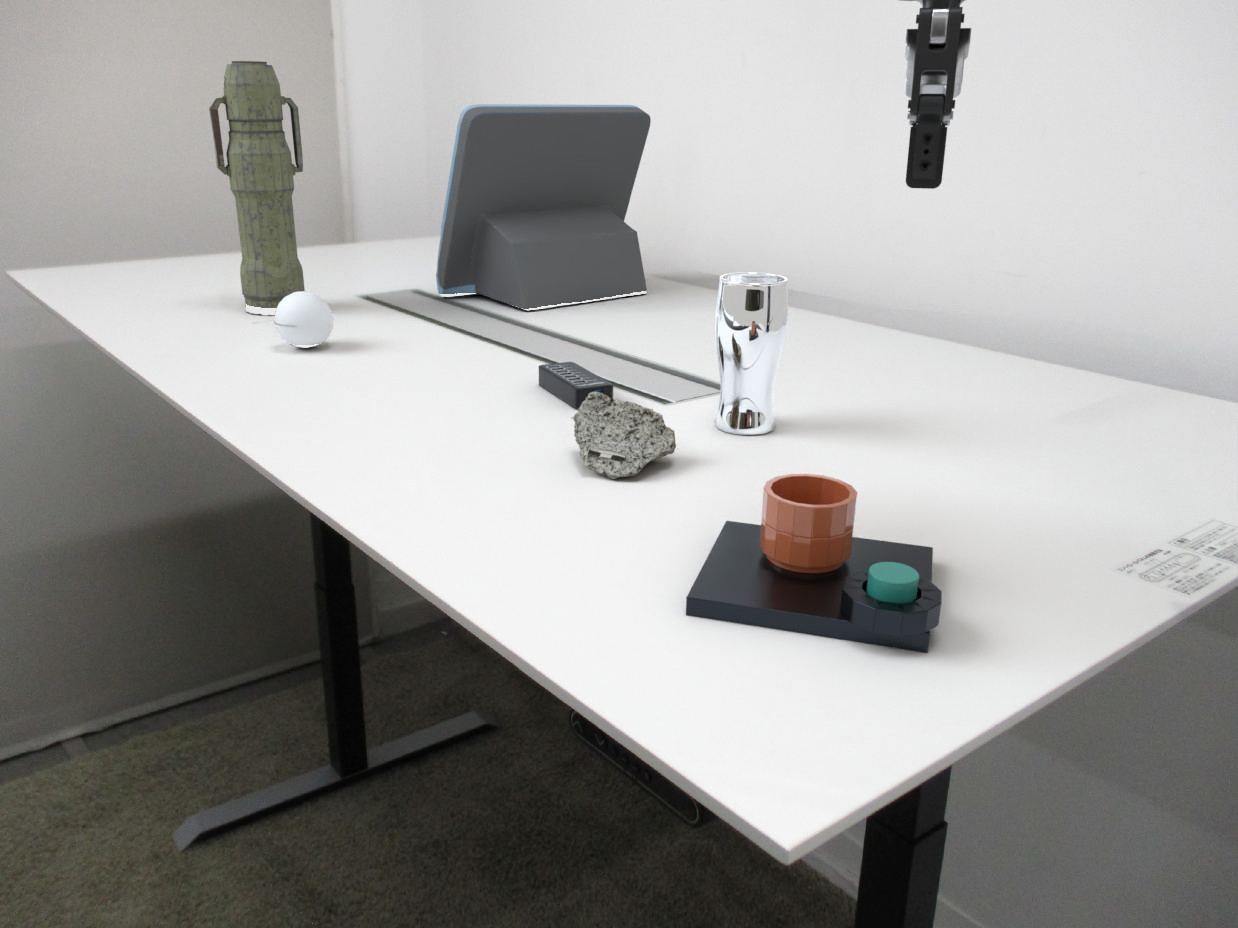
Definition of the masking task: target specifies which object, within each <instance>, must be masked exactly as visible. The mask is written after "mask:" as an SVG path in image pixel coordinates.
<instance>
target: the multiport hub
mask: <svg viewBox="0 0 1238 928" xmlns="http://www.w3.org/2000/svg"><path fill="white" fill-rule="evenodd" d="M538 386H539V387H541V388H543V389H544V390H546V391H547V392H549V393H550V394H551V395H553V396H554V397H556V398H557V399H558V400H561V401H562V402H563V403H565V404H567V405H569V406H570V407H571V408H573V409H574V410H577V409H578V408H579V407H581V405H582V402H583V401H585V400H586V399H585V398H586V397H588V394H589V393H591V392H600V393H602V394H605V395H608V397H609V398H611V399H613V400H614V384H613V383H611V382H610V381H608V380H606V379H604V378H603V377H600V376H599V375H597V374H595V373H594V372H592V371H590V370H588V369H586V368H585V367H583V366H581V365H580V364H578V363H576V362H573V361H565V362H564V361H563V362H556V363H546V364H540V365H538ZM612 393H613V394H612ZM611 396H612V397H611Z"/></svg>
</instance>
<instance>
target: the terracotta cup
mask: <svg viewBox="0 0 1238 928" xmlns="http://www.w3.org/2000/svg"><path fill="white" fill-rule="evenodd" d="M762 491H763V492H762V506H761V507H762V508H761V521H760V523H761V524H760V525H761V536H760V547H761V549H762V550H763V552H764V553H765V554H766V556H767V558H768V560H769V561H770V562H772V563H773V564H775V565H776V566H778V567H781V568H783V569H786V570H790V571H794V572H800V573H825V572H830V571H833V570H836V569H838V568H839V567H841V566H842V565H843V563H844V561H846V560H847V559H849V558H850V556H851V551H852V542H853V537H854V533H855V522H856V512H857V503H858V502H857V501H858V491H857V490H856V489H855V487H854V486H853V485H852V484H849V483H847V482H845V481H843V480H842V479H839V478H835V477H831V476H827V475H821V474H815V473H788V474H783V475H778V476H775V477H773V478H771V479H769V480H767V481H766V482H765V484H764V486H763V490H762Z"/></svg>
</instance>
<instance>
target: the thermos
mask: <svg viewBox="0 0 1238 928" xmlns="http://www.w3.org/2000/svg"><path fill="white" fill-rule="evenodd" d="M274 69H275V68H274V67H273V65H272V64H268V62H267V61H252V60H231V63H229V64H228V63H227V64H226V65H225V71H224V76H223V79H224V81H223V82H224V83H223V89H222V90H223V95H222V97H216V98H214V100H213V102H212V103H211V105H210V106H209V107H208V112H209V117H210V123H211V124H210V125H211V130H212V136H213V137H212V138H213V145H214V153H215V162H216V163H215V164H216V168H217V170H219V171H220V172H221V173H222V174H224V175H225V176H227V177H228V179H229V187H230V191H231V193H232V194H233V196H234V202H235V207H236V208H235V209H236V217H237V225H238V234H239V243H240V252H241V263H240V267H239V269H240V270H239V276H240V285H241V294H242V295H243V297H244V304H245V303H246V304H247V305H249V306H254V307H261V308H277V306H278V304H279V303H280V302H281V301H282V299H283V298H284V297H286V296H288V295H290V294H291V293H293V292H299V291H306V290H305V279H304V270H303V265H302V264H301V262H300V259H299V256H298V246H297V235H296V225H295V215H294V214H295V213H294V206H293V205H294V204H293V194H294V191H295V181H294V176H296V173H302V172H303V171H304V159H303V157H304V156H303V147H302V136H301V125H300V115H299V114H300V113H299V107H298V106H297V104H296V103H295V102H294V100H293V99H292V98H291V97H285V96H284V95H282V93H281V92H282V91H281V85H280V82H279V79H278V76H277V74H276V71H275V70H274ZM221 104H223V105H224V106H225V113H226V120H227V121H228V127H229V130H228V132H227V133H228V143H227V149H226V154H225V155H226V161H227V165H226V164H225V156H224V149H223V141H222V133H221V125H220V124H221V123H220V115H219V108H220V105H221ZM286 104H287V105H288V107H289V112H290V121H291V133H292V141H293V152H294V163H295V164H294V163H293V161H292V160H293V159H292V151H291V149H290V147H289V145H288V142H287V140H286V134H285V133H286V132H285V130H283V129H284V128H283V121H284V113H283V112H284V111H283V106H284V105H286Z"/></svg>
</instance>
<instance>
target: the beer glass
mask: <svg viewBox="0 0 1238 928" xmlns="http://www.w3.org/2000/svg"><path fill="white" fill-rule="evenodd" d="M788 282H789V280H788V277H786V276H784V275H779V274H775V273H767V272H754V271H753V272H752V271H751V272H750V271H749V272H747V271H746V272H745V271H742V272H740V271H739V272H729V273H724V274H722V275H719V283H718V291H717V298H716V305H715V306H716V308H715V319H714V320H715V324H714V325H715V326H714V327H715V328H714V334H715V348H716V356H717V363H718V370H719V371H718V372H719V380H720V381H719V382H720V392H719V393H720V394H719V403H718V406H717V410H716V415H715V419H714V426H715V427H716V429H718V430H720V431H722V432H726V433H727V434H732V435H739V436H758V435H764V434H768V433H771V432H772V431H774V430H775V428H776V417H775V409H774V391H775V385H776V380H777V375H778V371H779V369H780V365H781V359H782V355H783V353H784V352H783V351H784V347H785V341H786V336H787V328H788V312H789V304H788V303H789V298H788V297H789V294H788V293H789V292H788Z"/></svg>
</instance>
